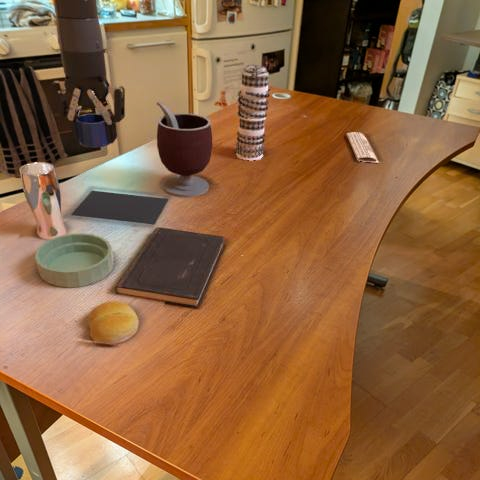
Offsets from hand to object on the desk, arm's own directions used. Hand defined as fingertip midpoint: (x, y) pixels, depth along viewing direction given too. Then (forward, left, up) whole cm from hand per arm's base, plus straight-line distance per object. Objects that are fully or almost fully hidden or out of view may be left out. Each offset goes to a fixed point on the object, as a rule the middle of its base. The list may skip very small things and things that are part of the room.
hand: (95, 140), depth 93 cm
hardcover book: (+19, -14, -20) cm, 31 cm away
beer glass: (-11, -6, -20) cm, 23 cm away
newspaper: (+63, +68, -20) cm, 95 cm away
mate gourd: (+12, +25, -20) cm, 34 cm away
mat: (0, +8, -20) cm, 21 cm away
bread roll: (+13, -34, -20) cm, 41 cm away
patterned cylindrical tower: (+27, +52, -20) cm, 62 cm away
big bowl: (0, -18, -20) cm, 26 cm away
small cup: (0, 0, 0) cm, 0 cm away
